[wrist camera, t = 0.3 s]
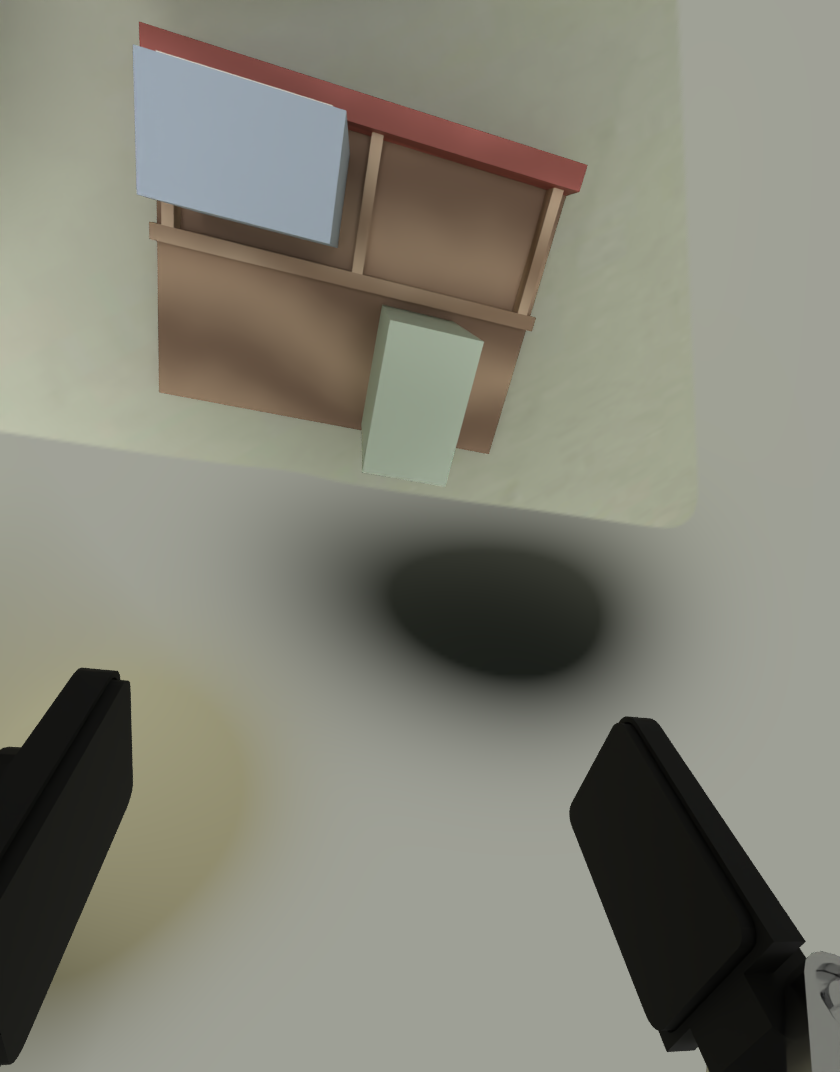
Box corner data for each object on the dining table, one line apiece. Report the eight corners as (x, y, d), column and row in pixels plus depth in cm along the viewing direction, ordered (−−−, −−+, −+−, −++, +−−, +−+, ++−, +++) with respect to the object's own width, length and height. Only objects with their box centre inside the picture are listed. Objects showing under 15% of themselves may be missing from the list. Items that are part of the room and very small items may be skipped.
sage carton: (455, 321, 32) (487, 342, 24) (427, 436, 35) (447, 487, 27) (382, 304, 31) (390, 319, 23) (361, 423, 34) (362, 472, 26)
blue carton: (202, 106, 25) (132, 38, 18) (350, 150, 27) (347, 105, 19) (199, 212, 28) (136, 194, 20) (337, 248, 29) (329, 244, 21)
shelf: (160, 45, 25) (139, 21, 22) (568, 172, 29) (587, 165, 27) (163, 389, 32) (147, 399, 30) (486, 450, 37) (495, 463, 34)
